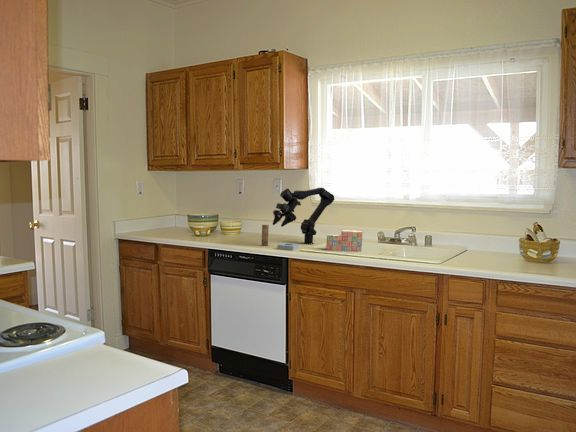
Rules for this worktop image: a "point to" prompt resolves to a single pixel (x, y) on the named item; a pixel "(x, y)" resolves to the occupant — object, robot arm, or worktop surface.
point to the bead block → (288, 246)
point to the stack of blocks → (345, 241)
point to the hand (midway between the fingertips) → (277, 225)
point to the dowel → (265, 235)
